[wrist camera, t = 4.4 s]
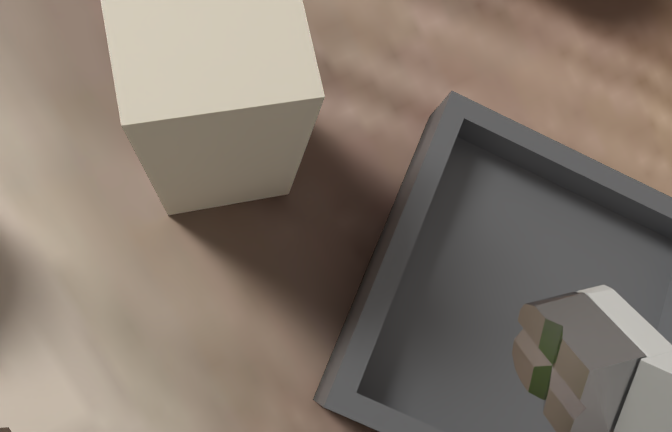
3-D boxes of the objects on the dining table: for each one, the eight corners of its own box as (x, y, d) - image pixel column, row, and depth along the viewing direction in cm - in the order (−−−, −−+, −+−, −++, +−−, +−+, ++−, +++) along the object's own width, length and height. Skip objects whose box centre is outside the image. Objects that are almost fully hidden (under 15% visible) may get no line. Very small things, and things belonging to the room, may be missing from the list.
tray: (608, 528, 21) (656, 552, 19) (312, 399, 20) (323, 407, 18) (682, 238, 24) (731, 226, 22) (429, 116, 24) (451, 90, 21)
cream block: (288, 194, 22) (324, 96, 13) (168, 215, 21) (120, 125, 12) (265, 85, 23) (285, -75, 14) (148, 101, 22) (91, -60, 13)
